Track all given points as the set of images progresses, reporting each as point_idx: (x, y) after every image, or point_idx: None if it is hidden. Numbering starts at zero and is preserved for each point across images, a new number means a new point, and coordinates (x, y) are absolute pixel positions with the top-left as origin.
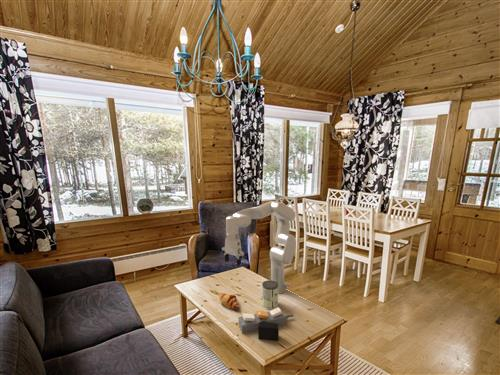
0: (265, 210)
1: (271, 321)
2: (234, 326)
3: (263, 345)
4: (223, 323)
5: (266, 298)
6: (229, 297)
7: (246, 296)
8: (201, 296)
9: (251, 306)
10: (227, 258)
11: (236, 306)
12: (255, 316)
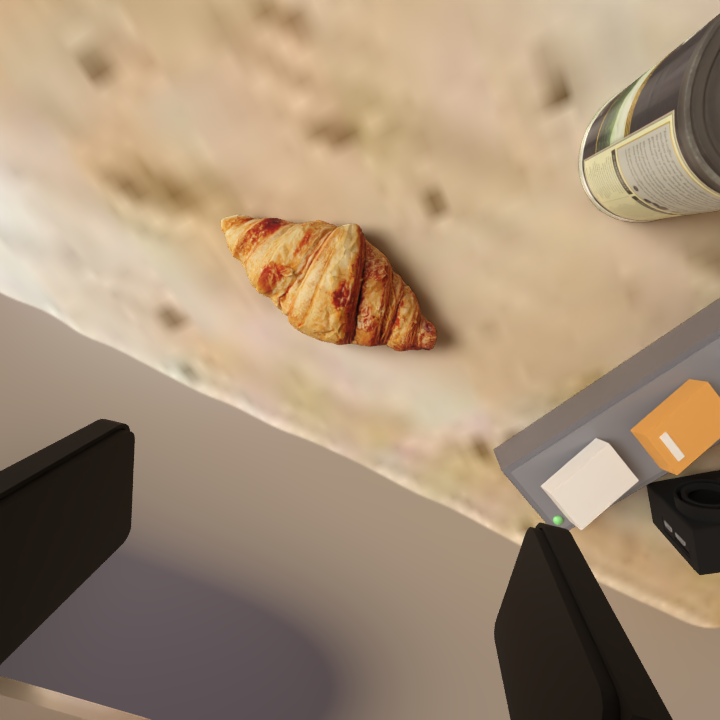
0: None
1: None
2: (479, 475)
3: None
4: (407, 474)
5: (678, 212)
6: (342, 319)
7: (409, 126)
8: (113, 284)
9: (503, 245)
10: (71, 529)
11: (423, 344)
12: (616, 427)
